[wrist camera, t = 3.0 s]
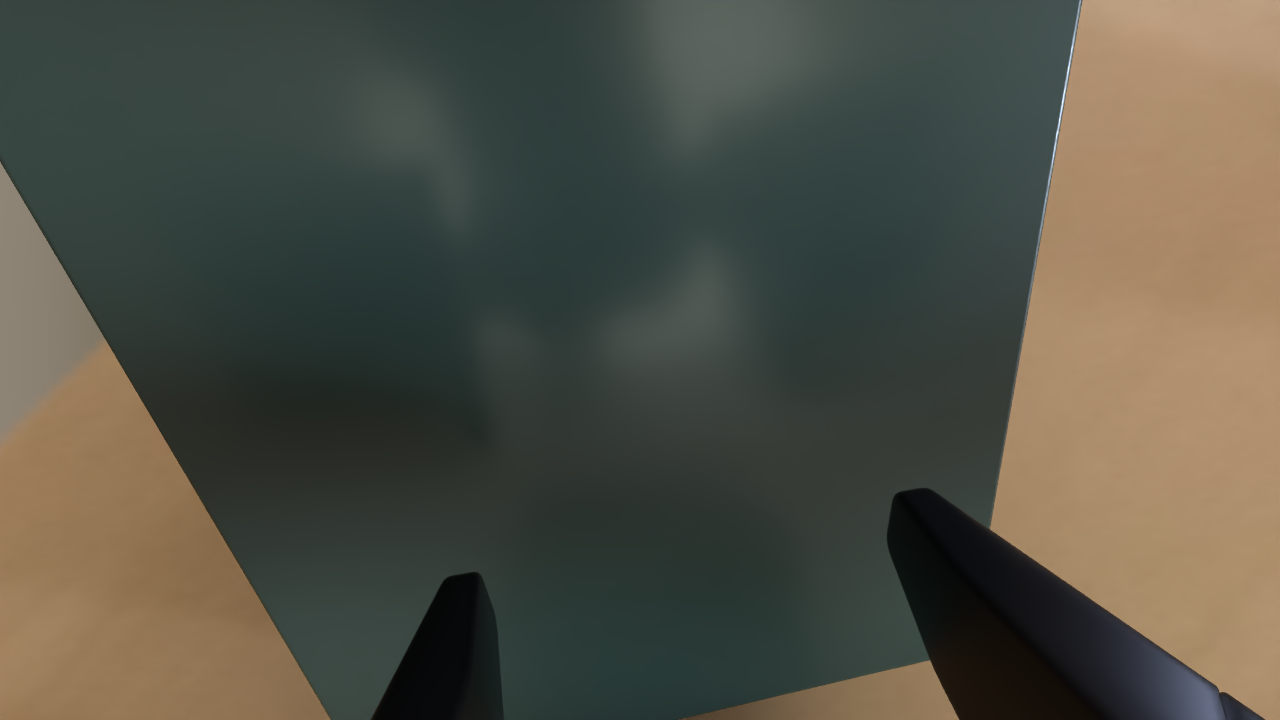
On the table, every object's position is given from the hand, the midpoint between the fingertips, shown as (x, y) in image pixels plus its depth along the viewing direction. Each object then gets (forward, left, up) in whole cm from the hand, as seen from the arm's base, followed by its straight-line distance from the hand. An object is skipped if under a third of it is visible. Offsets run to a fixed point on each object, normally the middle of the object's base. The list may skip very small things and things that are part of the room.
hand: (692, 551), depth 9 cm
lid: (+1, +2, -2) cm, 3 cm away
